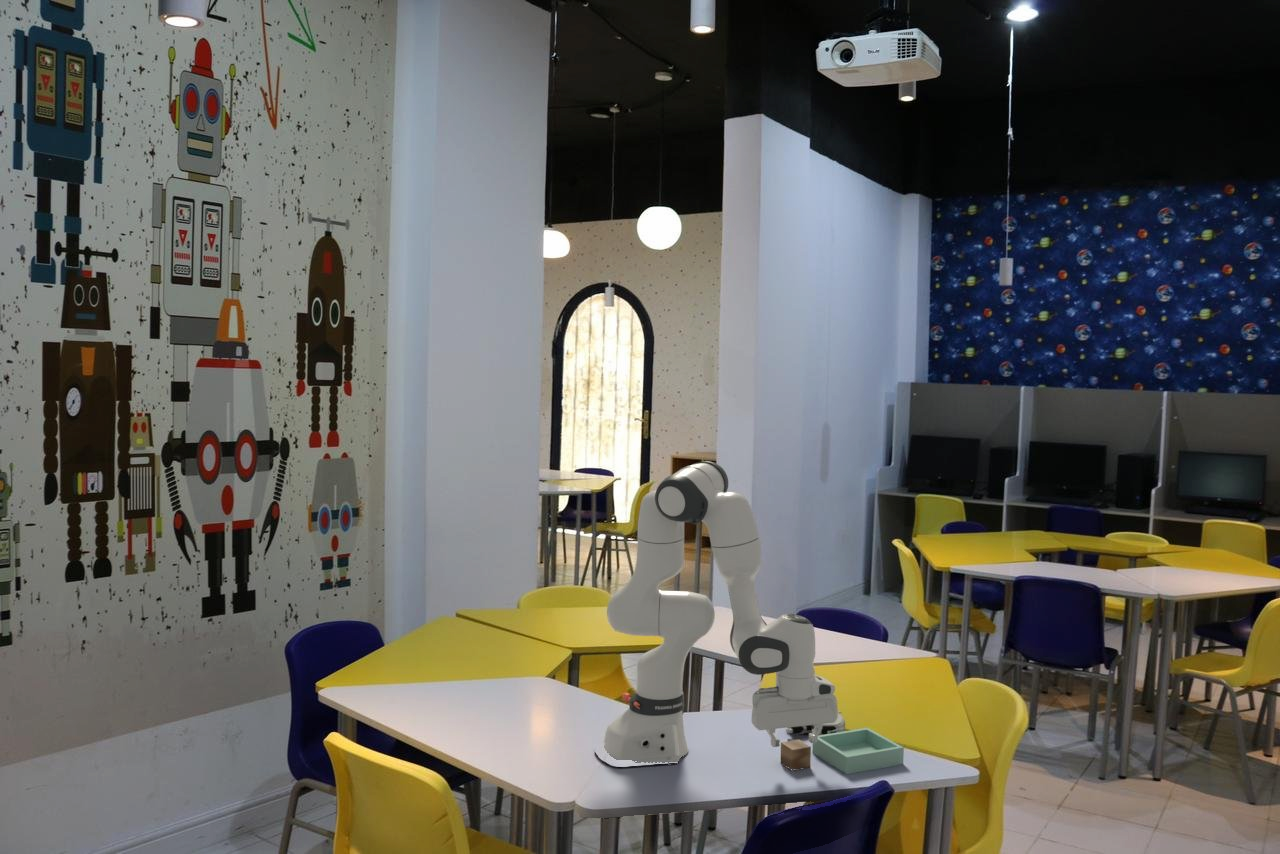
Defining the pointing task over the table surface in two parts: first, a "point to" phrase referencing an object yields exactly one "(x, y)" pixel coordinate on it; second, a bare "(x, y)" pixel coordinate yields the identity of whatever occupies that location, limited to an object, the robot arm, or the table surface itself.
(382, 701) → the table surface
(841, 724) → the robot toy
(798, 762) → the block
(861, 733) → the tray
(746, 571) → the robot arm
